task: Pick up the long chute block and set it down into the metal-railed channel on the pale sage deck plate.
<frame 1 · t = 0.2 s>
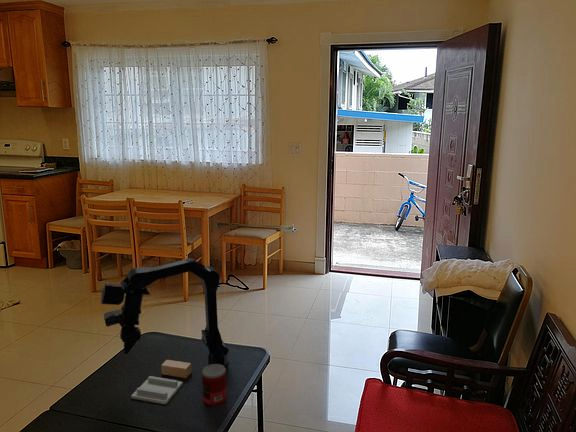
hand: (124, 347, 157), 15 cm above the table, tool pointing down, fingers open, 9 cm apart
chute block: (176, 373, 169), on the table
canned food: (214, 399, 154), on the table
deck plate: (157, 391, 158), on the table
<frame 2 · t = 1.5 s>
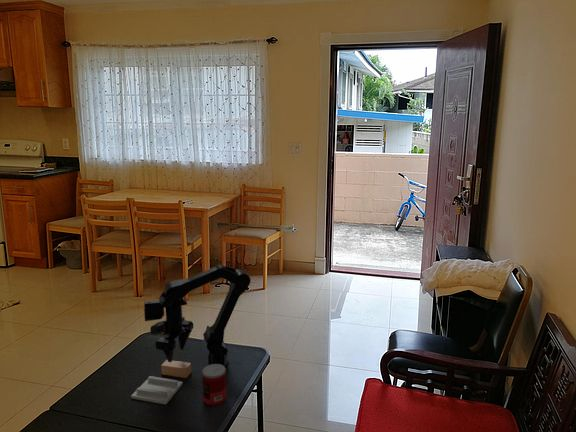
hand: (176, 355, 168), 7 cm above the table, tool pointing down, fingers open, 9 cm apart
nothing on the table moved.
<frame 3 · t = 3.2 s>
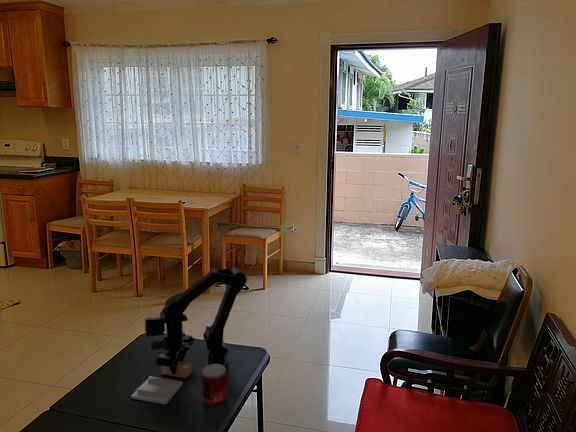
hand: (176, 370, 169), 1 cm above the table, tool pointing down, fingers closed on chute block, 4 cm apart
chute block: (176, 373, 169), on the table, touching gripper
everything else where it was.
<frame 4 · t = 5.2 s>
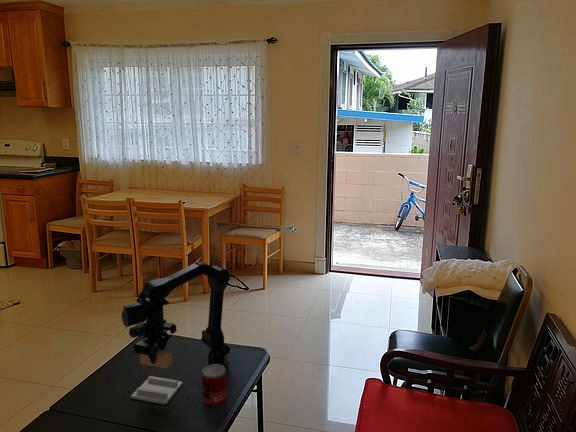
hand: (156, 360, 157), 11 cm above the table, tool pointing down, fingers closed on chute block, 4 cm apart
chute block: (156, 363, 157), point 10 cm above the table, touching gripper
everything else where it was.
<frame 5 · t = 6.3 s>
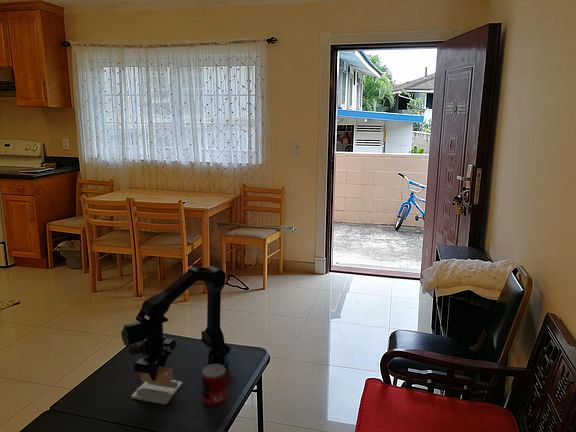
hand: (157, 377, 157), 5 cm above the table, tool pointing down, fingers closed on chute block, 4 cm apart
chute block: (157, 379, 157), point 4 cm above the table, touching gripper
everything else where it was.
when the fingers open (4 cm above the table, at t = 7.3 s): chute block drops 2 cm, resting on deck plate.
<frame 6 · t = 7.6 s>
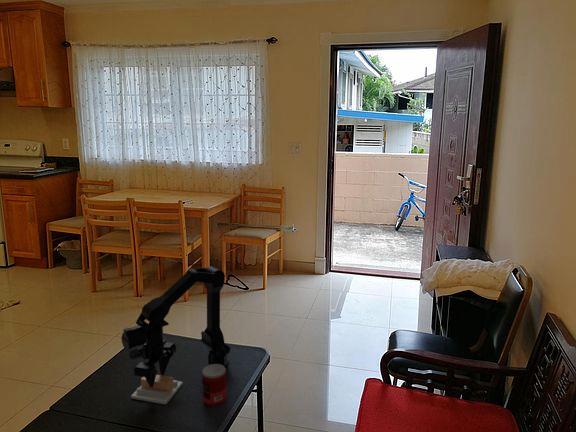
hand: (157, 380, 157), 4 cm above the table, tool pointing down, fingers open, 7 cm apart
chute block: (157, 388, 158), point 1 cm above the table, touching deck plate
everything else where it was.
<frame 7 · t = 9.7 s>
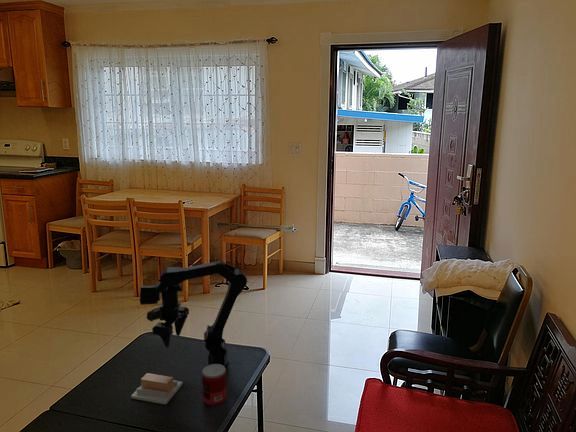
hand: (172, 341, 169), 12 cm above the table, tool pointing down, fingers open, 9 cm apart
nothing on the table moved.
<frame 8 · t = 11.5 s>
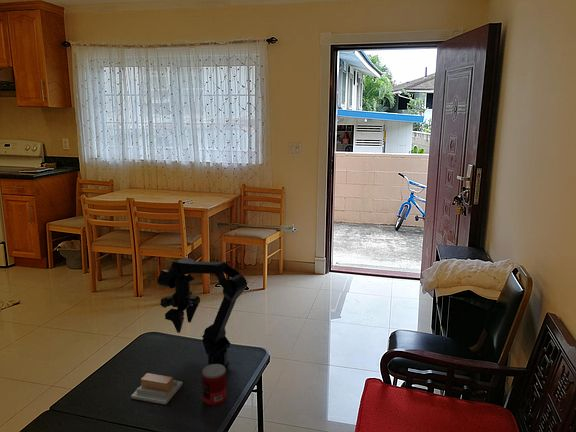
hand: (184, 327, 180), 12 cm above the table, tool pointing down, fingers open, 9 cm apart
nothing on the table moved.
at the end: chute block 0.0 cm off-centre on the deck plate, point 1.0 cm above the deck plate's base; chute block tilted 0°; the gripper is holding nothing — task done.
